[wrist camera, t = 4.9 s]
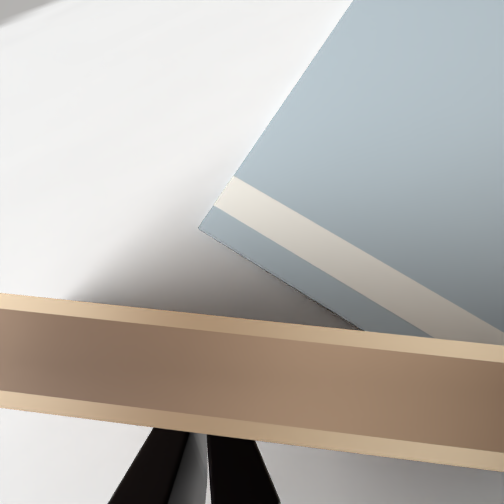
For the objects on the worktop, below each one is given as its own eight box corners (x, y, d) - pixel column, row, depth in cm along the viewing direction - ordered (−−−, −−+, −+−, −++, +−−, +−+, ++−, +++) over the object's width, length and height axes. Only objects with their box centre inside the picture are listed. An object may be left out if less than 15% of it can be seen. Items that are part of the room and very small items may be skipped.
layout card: (576, 462, 15) (582, 464, 14) (199, 229, 18) (197, 227, 17) (736, 107, 17) (745, 103, 17) (386, -46, 20) (389, -53, 20)
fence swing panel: (516, 361, 15) (1114, 409, 4) (517, 400, 15) (1164, 556, 4) (34, 310, 16) (-410, 250, 6) (27, 344, 16) (-457, 349, 5)
